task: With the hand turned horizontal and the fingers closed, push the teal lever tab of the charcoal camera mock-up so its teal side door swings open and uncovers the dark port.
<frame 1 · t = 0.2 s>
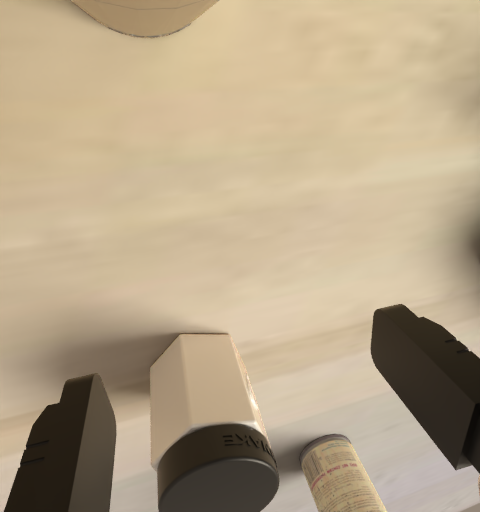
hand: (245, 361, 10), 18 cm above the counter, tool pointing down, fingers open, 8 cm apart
jar: (198, 364, 34), on the counter
aerosol can: (324, 450, 46), on the counter
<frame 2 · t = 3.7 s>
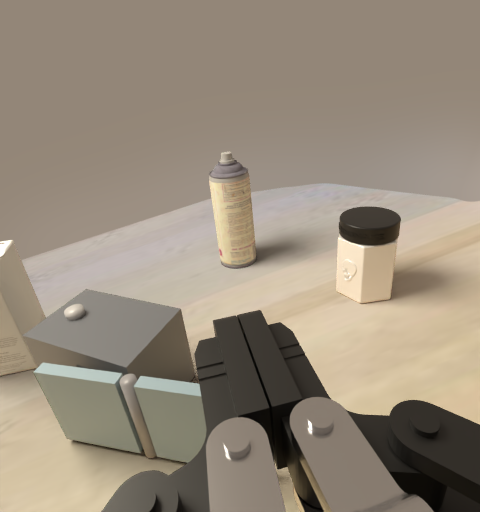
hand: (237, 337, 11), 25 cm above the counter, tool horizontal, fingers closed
skincare box: (24, 354, 51), on the counter
jar: (364, 288, 57), on the counter
side door: (148, 419, 33), point 5 cm above the counter, hinge at 10.0°
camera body: (126, 387, 43), on the counter
aerosol can: (238, 260, 69), on the counter
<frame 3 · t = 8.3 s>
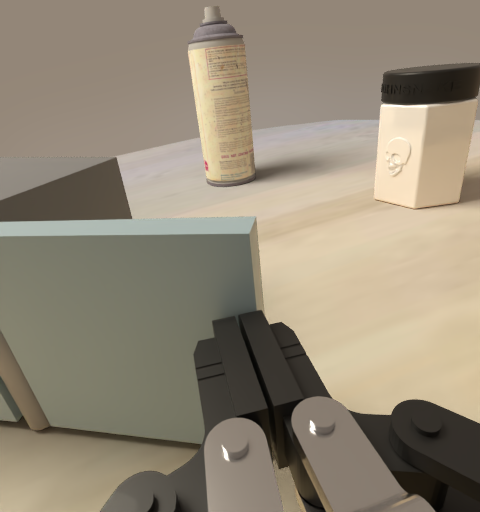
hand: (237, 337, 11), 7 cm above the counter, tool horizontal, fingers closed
jar: (414, 196, 39), on the counter
side door: (18, 338, 15), point 5 cm above the counter, hinge at 13.1°, touching gripper
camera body: (31, 319, 25), on the counter
aerosol can: (231, 180, 51), on the counter
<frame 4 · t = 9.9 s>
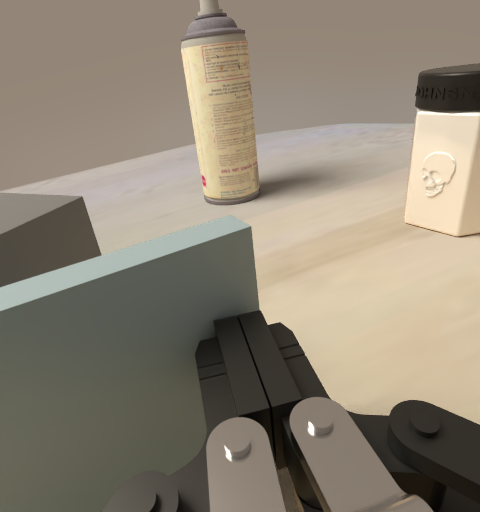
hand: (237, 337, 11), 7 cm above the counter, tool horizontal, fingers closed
jar: (451, 218, 33), on the counter
aerosol can: (232, 196, 44), on the counter
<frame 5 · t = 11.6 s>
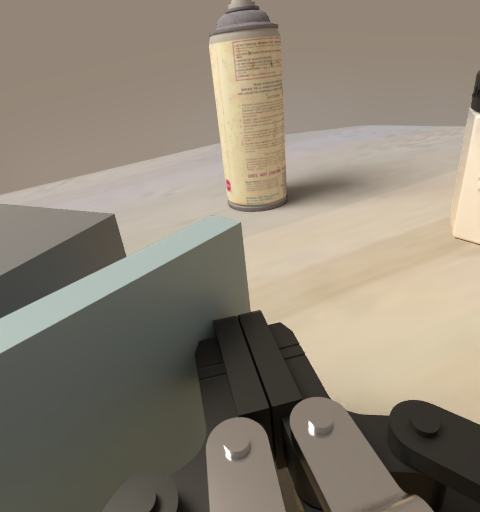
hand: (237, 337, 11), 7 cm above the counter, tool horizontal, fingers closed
aerosol can: (257, 202, 42), on the counter
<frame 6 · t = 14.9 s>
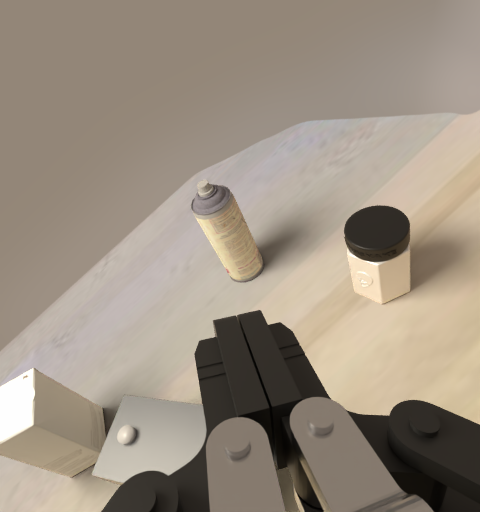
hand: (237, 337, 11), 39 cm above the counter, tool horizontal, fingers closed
skincare box: (90, 441, 55), on the counter
jar: (381, 281, 56), on the counter
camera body: (194, 462, 47), on the counter
aerosol can: (246, 268, 67), on the counter
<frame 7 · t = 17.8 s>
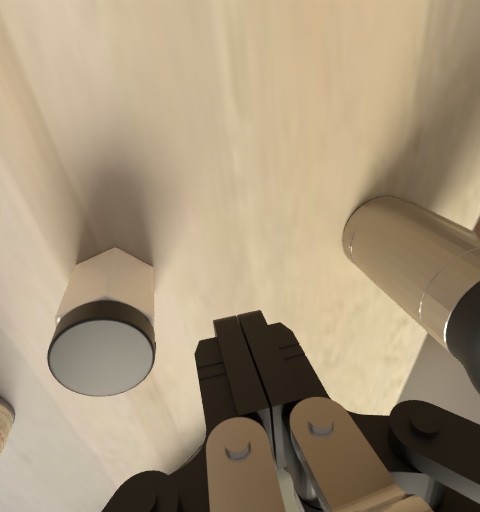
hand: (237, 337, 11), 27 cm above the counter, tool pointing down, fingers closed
jar: (115, 282, 39), on the counter
side door: (267, 482, 53), point 5 cm above the counter, hinge at 74.0°
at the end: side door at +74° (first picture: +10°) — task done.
